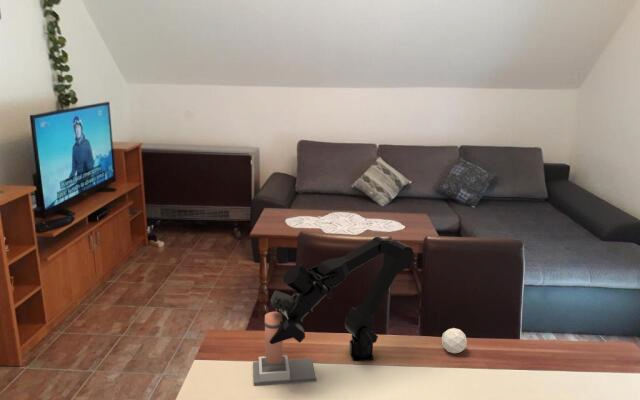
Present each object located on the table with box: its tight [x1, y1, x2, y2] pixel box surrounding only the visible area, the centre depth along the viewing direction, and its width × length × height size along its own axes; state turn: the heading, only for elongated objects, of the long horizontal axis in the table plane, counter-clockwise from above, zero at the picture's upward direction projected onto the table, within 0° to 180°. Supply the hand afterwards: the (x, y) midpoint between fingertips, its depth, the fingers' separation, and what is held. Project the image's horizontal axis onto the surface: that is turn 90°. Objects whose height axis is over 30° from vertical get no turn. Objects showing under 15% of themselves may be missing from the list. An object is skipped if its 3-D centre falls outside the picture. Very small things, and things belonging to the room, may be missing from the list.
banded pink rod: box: [264, 311, 284, 364], centre depth 145 cm, size 5×5×14 cm
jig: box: [252, 354, 317, 387], centre depth 149 cm, size 18×10×4 cm, turn 98°
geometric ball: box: [441, 327, 468, 354], centre depth 162 cm, size 8×8×8 cm
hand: (269, 338), depth 145 cm, fingers closed on banded pink rod, 5 cm apart
